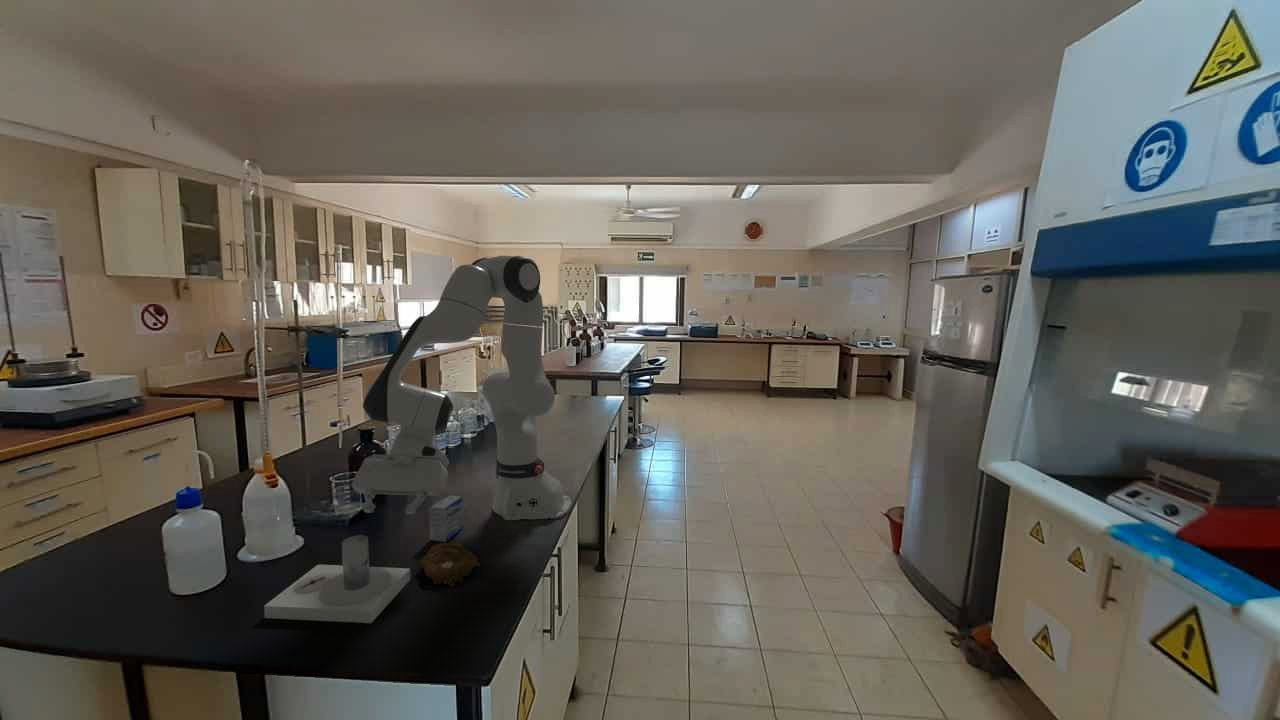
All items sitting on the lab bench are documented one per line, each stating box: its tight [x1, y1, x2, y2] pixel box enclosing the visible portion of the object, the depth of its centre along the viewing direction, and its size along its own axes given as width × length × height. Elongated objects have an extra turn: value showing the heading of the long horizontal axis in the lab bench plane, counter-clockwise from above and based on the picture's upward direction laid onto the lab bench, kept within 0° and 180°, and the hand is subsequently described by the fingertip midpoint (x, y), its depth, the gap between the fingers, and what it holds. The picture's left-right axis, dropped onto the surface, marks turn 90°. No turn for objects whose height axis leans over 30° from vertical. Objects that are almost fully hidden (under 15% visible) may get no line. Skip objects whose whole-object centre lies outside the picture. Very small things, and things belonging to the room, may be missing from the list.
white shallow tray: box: [263, 564, 411, 624], centre depth 94 cm, size 20×14×3 cm
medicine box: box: [428, 495, 464, 543], centre depth 120 cm, size 8×4×9 cm, turn 168°
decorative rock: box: [419, 540, 481, 587], centre depth 105 cm, size 11×4×15 cm
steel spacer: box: [341, 534, 370, 590], centre depth 93 cm, size 4×4×9 cm
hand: (388, 512), depth 104 cm, fingers open, 8 cm apart
